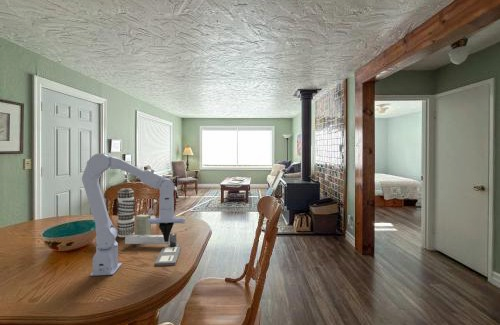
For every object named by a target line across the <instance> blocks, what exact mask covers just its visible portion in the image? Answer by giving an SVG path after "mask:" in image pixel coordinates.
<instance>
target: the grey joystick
mask: <svg viewBox="0 0 500 325" xmlns="http://www.w3.org/2000/svg"><path fill="white" fill-rule="evenodd" d="M166 247H180V242H179V243H177V233H172V232H171V233H170V242H169V244H167V246H166Z"/></svg>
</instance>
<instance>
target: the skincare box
mask: <svg viewBox="0 0 500 325" xmlns="http://www.w3.org/2000/svg"><path fill="white" fill-rule="evenodd" d="M148 219H152V218H151V214H138V215H135V235H152V224H149V225H148Z"/></svg>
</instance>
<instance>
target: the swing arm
mask: <svg viewBox="0 0 500 325" xmlns="http://www.w3.org/2000/svg"><path fill="white" fill-rule="evenodd" d="M124 244H126V245H135V244H136V245H168V244H170V236H169V241H168V242H164V237H163V234H151V235H136V234H134V235H127V236H125V237H124Z"/></svg>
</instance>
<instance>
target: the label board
mask: <svg viewBox="0 0 500 325" xmlns="http://www.w3.org/2000/svg"><path fill="white" fill-rule="evenodd" d="M181 250H182V246H179V247H167V246H164V247H162V249H161V251H160V252H159V254H158V256H157V257H156V260H155V262H154V264H153V265H154V267H158V266H176V265H177V261H178V258H179V256H180V252H181Z"/></svg>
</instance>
